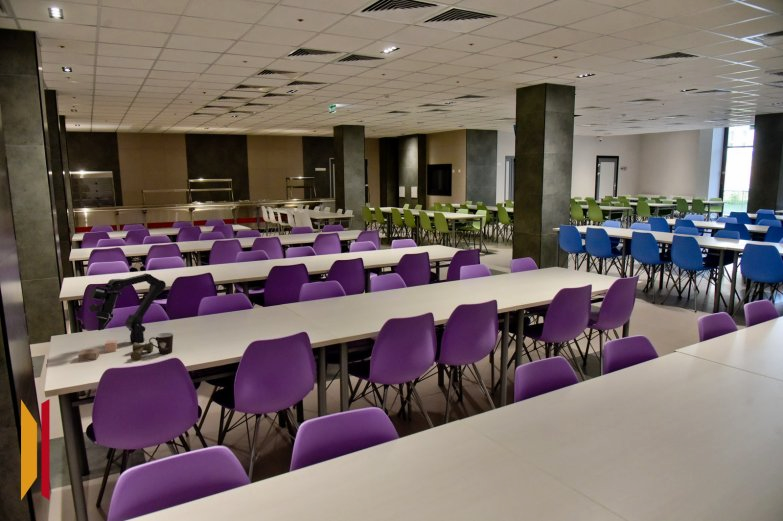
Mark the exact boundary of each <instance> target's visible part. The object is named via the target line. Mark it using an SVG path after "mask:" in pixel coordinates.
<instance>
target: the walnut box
mask: <svg viewBox="0 0 783 521" xmlns="http://www.w3.org/2000/svg"><path fill="white" fill-rule="evenodd" d="M77 357H78V358H77V359H78V362H79V363H80V361H81V362H88V360H91V361H97V360H98V358H99V357H100V348H97V347H96V348H89V349H88V348H87V349H82V350H80V352H78V356H77Z"/></svg>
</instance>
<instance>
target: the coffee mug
mask: <svg viewBox="0 0 783 521" xmlns="http://www.w3.org/2000/svg"><path fill="white" fill-rule="evenodd" d="M152 339H155V341H156V345H155V344H154V343H153V344H152V343H151V342H152V341H151V340H152ZM173 342H174V333H173V332H160V333H157V334H156V335H155V337H154V336H151V337H150V338H149V340H148V343H150V344H151V345H153V347H155V348H156V349H158V353H159V355H161V356H164V355H170V354H173V346H174V345H173Z"/></svg>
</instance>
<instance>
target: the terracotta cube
mask: <svg viewBox="0 0 783 521" xmlns="http://www.w3.org/2000/svg"><path fill="white" fill-rule="evenodd" d="M104 348H105V349H104V350H105V353H112V352H117V351H118V340H117V339H113V340H111V339H110V340H106V341H105V343H104Z"/></svg>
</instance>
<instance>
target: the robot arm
mask: <svg viewBox="0 0 783 521" xmlns="http://www.w3.org/2000/svg"><path fill="white" fill-rule="evenodd" d="M145 282H146V283H147V284H149V286H148V292H147V294H146V295H145V298H143V300H142V302H141V303H140V305H139V306H138V308H137V309H136V311H135V312H134V313H133V314H129V315H128V316H127V318H126V319H125V323H124V324H125V327H126V329H128V330H129V331H130V335H129V340H130V343H131V344H133V343H134V342H136V343H138V344H140V343H144V342H145V335H144V334H145V331H146V327H145V326H144V325H143V321H144V316H145V314H146V313H147V311H148V310H149V309H150V307H151V305H152V304H153V303H154V300H155V299H156V298H157V296H158V295H160V294H161V293H163V291H164V290H165V289H166V287H167V285H166V282H165V281H164V280H161V279H159V278H156V277H155V276H153V275H152V274H150V273H143V274H139V275H136V276H135V275H134V276H131V277H127V278H126V277H125V278H114V279H113V278H112V279H110V280H108V282H107V283H106V284H105V285H104V286H102V287H100V286H97V285H94V286H93V288H92V289H91V290H90V292H89V298H90V299H92V300H93V299H94V300H98V301H103V302H101V303H100V305H97V304H96V303H92V304H91V305H90V306H89V307H88V309H89V313H93V312H96V314H95V317H96V318H95V319H97V320H98V324H97V331H101V330H105V328H106V327H107V326H108V324H110V322H111V321H112V320H113V318H114V317H115V313H114V309H115V307H116V302H117V299H118V297H119V296H121V297H122V296H123V295H122V293H121V290H123V289H125V288H126V287H130V286H133V285H135V284H140V283H145Z"/></svg>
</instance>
